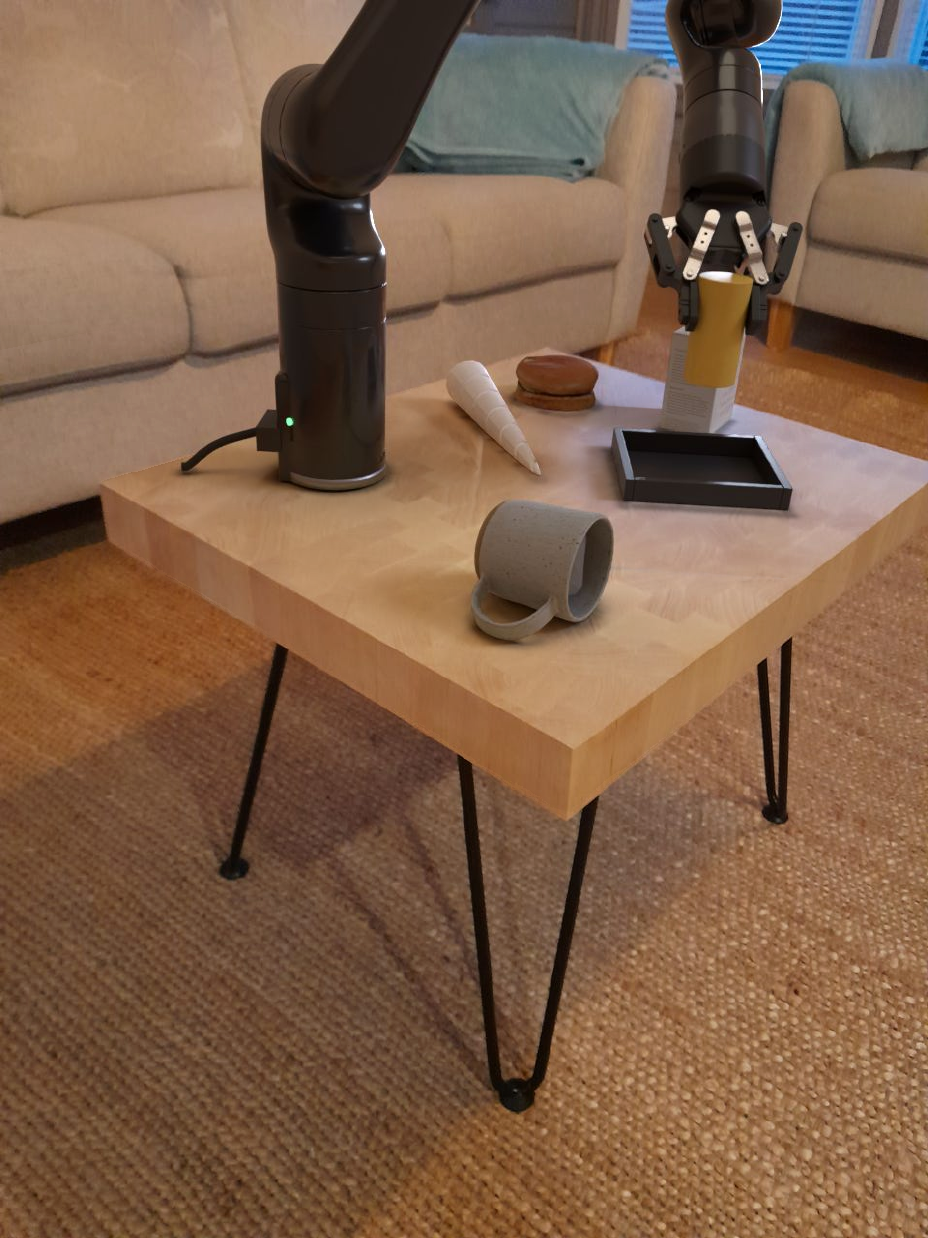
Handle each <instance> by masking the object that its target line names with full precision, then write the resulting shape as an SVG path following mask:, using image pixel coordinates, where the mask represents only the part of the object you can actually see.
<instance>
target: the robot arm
mask: <svg viewBox="0 0 928 1238" xmlns="http://www.w3.org/2000/svg"><path fill="white" fill-rule="evenodd" d="M481 1H482V0H365V1H364V2H363V5H362V6H361V8H360V9H359V11H358V13H357V14H356V16H355V18H354V19H353V21H352V22H351V24H350V25H349V27H348V29H347V30H346V32H345V34H343V37H342V38H341V40H340V41H339V42H338V43H337V46H336V47H335V48H334V50H333V51H332V53H331V54H330V56H329V57H328V58H327V59H326V60H325V62H324V63H303V64H300V65H297V66H295V67H292V68H290V69H288V70H286V71H285V72H284V73H282V74H281V75H280V76H279V77H278V78H277V79H276V80H275V81H274V83H273V84H272V85H271V87H270V88H269V90H268V92H267V95H266V97H265V99H264V102H263V107H262V111H261V117H260V134H259V135H260V158H261V173H262V174H261V175H262V187H263V188H262V189H263V199H264V212H265V214H264V215H265V224H266V231H267V236H268V241H269V245H270V247H271V250H272V254H273V260H274V268H275V269H274V270H275V271H274V272H275V281H276V282H275V283H276V302H277V303H276V305H277V322H278V323H277V326H278V327H277V328H278V329H277V330H278V331H277V332H278V351H279V352H278V353H279V354H278V355H279V356H278V357H279V370H278V371H277V373H276V374H275V376H274V396H275V409H271V408H269V409H266V411H265V412H264V413H263V415H262V417H261V418H260V420H259V421H258V423H257V424H256V426H255V427H252V428H248V429H243V430H240V431H237V432H233V433H229V434H227V435H224V436H222V437H219V438H216V439H214V440H212V441H210V442H209V443H207V444H206V445H204V446H203V447H202V448H201V449H200V450H198V451H197V452H195V454H194V455H192V457H190V458H189V459H187V460H186V461H181V462H180V470H181V472H188V471H190V470H192V469H194V468H195V467H196V466H197V465H198V464H199V463H200V462H202V461H203V460H204V459H205V458H206V457H207V456H209V455H210V454H212V453H213V452H215V451H216V450H219V449H220V448H223V447H226V446H227V445H230V444H234V443H237V442H242V441H244V440H248V439H252V438H255V441H256V451H257V452H264V453H265V452H267V453H277V461H278V463H277V464H278V480H279V481H280V482H281V481H282V482H290V483H294V484H296V485H298V486H301V487H305V488H309V489H316V490H323V491H324V490H325V491H346V490H354V489H360V488H364V487H365V488H366V487H368V486H371V485H374V484H376V483H378V482H379V481H381V480H382V479H384V477H385V475H386V473H387V459H386V455H387V454H386V451H387V450H386V393H387V391H386V388H387V387H386V386H387V385H386V382H387V379H386V378H387V371H386V370H387V253H386V249H385V246H384V244H383V243H382V240H381V239H380V237H379V236H380V235H379V234H378V232H377V229H376V226H375V221H374V217H373V212H372V200H371V199H372V198H371V197H372V196H371V192H373V191H374V190H375V189H377V188H379V186H381V185H382V184H383V182H385V180H386V179H387V178H388V177H389V175H390V174H391V172H393V169H394V168H395V167H396V164H398V161H399V160H400V157H401V155H402V153H403V151H404V149H405V147H406V145H407V143H408V141H409V138H410V136H411V135H412V131H413V130H414V128H415V125H416V123H417V120H418V118H419V116H420V114H421V112H422V110H423V108H424V105H425V103H426V100H427V99H428V96H429V94H430V92H431V91H432V88H433V86H434V84H435V81H436V79H437V77H438V76H439V73H440V71H441V70H442V67H443V65H444V64H445V61H446V59H447V57H448V55H450V54H449V53H450V51H451V50H452V48H453V46H454V44H455V43H456V41H457V40H458V38H459V37H460V35H461V34H462V31H463V30H464V29H465V27H466V25H467V24H468V22H469V21H470V20H471V17H472V16H473V14H474V13H475V11H476V9H477V8H478V6H479V4H480V3H481ZM782 13H783V0H667V3H666V6H665V10H664V25H665V30H666V34H667V37H668V39H669V40H668V41H669V42H670V45H671V48H672V51H673V54H674V55H675V58H676V60H677V64H678V67H679V71H680V76H681V81H682V92H683V93H682V95H683V98H682V99H683V100H682V107H683V108H682V129H681V134H680V140H679V153H678V165H679V196H678V197H679V199H678V200H679V201H678V205H679V206H678V209H677V211H676V213H675V215H673V216H668V217H664V218H663V216H662V215H661V214H660V213H656V212H654V213H651V214H649V215H648V218H647V222H646V226H645V229H644V233H643V238H644V242H645V245H646V250H647V252H648V256H649V260H650V263H651V267H652V271H653V274H654V277H655V280H656V281H655V282H656V284H657V286H658V287H660V288H661V289H666V288H671V289H674V290H675V291H676V292H677V320H678V323H679V325H681V326H685V331H687V332H694V330H695V327H696V325H697V322H698V303H699V285H698V281H696V279H697V278H698V275H699V272H700V269H701V266H702V265H716V264H722V265H725V266H728V267H730V266H731V267H733V268H734V271H735V273H736V274H741V275H745V276H748V277H750V278H752V279H753V285H752V291H751V296H750V302H749V307H748V313H747V318H746V324H745V335H746V336H748V337H749V336H752V337H754V336H755V335H756V333H757V331H760V330H761V328H762V327H763V325H764V323H765V321H766V319H767V316H768V307H767V306H768V298H767V297H768V296H767V295H772V296H778V295H779V294H781V292H782V290H783V288H784V285H785V283H786V281H788V278H789V276H790V275H791V270H792V267H793V264H794V260H795V258H796V254H797V250H798V247H799V244H800V240H801V237H802V234H803V230H804V227H803V225H802V224H801V223H800V222H798V221H792V222H791V223H790V224H789V226H788V225H787V226H786V225H784V224H781V223H780V224H779V223H777V222H773V218H772V216H771V214H770V213H769V211H768V208H767V158H766V157H767V154H766V153H767V152H766V151H767V150H766V145H767V144H766V127H765V123H764V118H763V89H762V88H763V80H762V79H763V78H762V77H763V76H762V69H761V64H760V61H759V59H758V57H757V56H756V55H755V54H754V53H753V51H751V50H749V49H751V48H755V47H758V46H760V45H762V44H765V43H767V42H768V41H769V40H770V39H771V38H772V37H773V36H774V35H775V33H776V31H777V30H778V27H779V25H780V23H781V18H782ZM673 233H675V235H676V236H678V238H679V239H680V240H681V242H682V243H683V244H684V246H685V247H686V248H687V250H688V251H689V252H690V253H689V256H688V259H687V261H686V264H685V266H684V268H683V267H681V266H678V265H677V264H676V260H675V256H674V253H673V250H672V247H671V243H670V242H671V239H672V237H673ZM766 238H768V239H769V240H770V241H771V248H772V249H773V253H774V254H777V255H776V258H775V261H774V265H773V268H772V271H770V272H767V270H766V269H767V268H766V267H765V264H764V261H763V251H762V249H761V246H760V245H761V244H762V243H763V242H764V241H765V239H766Z"/></svg>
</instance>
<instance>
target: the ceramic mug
mask: <svg viewBox="0 0 928 1238" xmlns="http://www.w3.org/2000/svg"><path fill="white" fill-rule="evenodd" d="M614 546H615V538H614V528H613V525H612V523H611V521H610V519H609V518H608V516H606V515H605V514H603V513H600V512H595V511H588V510H582V509H577V508H570V507H566V506H559V505H554V504H548V503H544V502H539V501H534V500H528V499H527V500H526V499H509V500H503V501H502V502H500V503H498V504H497V505H495V506H494V507H493V508H492V509H491V510H490V511H489V513H488V514H487V515H486V517H485V518H484V520H483V521H482V524H481V526H480V528H479V531H478V533H477V537H476V541H475V545H474V552H473V553H474V555H473V565H474V571H475V574H476V577H477V579H478V581H477V582H476V583H475V585H474V587H473V589H472V591H471V595H470V610H471V613H472V616H473V619H474V621H475V623H476V625H477V626H478V627H479V628H480V630H481V631H482V632H484V634H487V635H489V636H490V637H493V638H496V639H499V640H505V641H506V640H507V641H513V640H520V639H524V638H528V637H530V636H532V635H535V634H536V633H538V632H539V631H540V630H542V629H543V628H544V627H545V626H546V625H547V624H548V623H549V622H550V621H551V620H553V618H554V617H556V618H560V619H562V620H565V621H568V622H572V623H578V622H582V621H584V620H585V619H587V618H588V617H589V616H590V615H591V614H592V613H593V612H594V610H595V609H596V607H597V605H598V604H599V602H600V600H601V598H602V597H603V594H604V593H605V590H606V587H607V584H608V582H609V578H610V573H611V571H612V563H613V558H614V557H613V556H614ZM488 593H491V594H493V595H495V596H497V597H498V598H501V599H504V600H506V601H507V600H508V601H510V602H514V603H517V604H520V605H523V606H526V607H529V608H531V609H533V610H536V611H535V612H533V613H532V614H530V615H529V616H527V617H525V618H523V619H520V620H517V621H513V622H507V623H498V622H494V621H492V620H491V618H490V617H489V616H487V615H485V614H484V613H483V611H482V610H481V606H482V603H483V601H484V598H485V597H486V595H487V594H488Z"/></svg>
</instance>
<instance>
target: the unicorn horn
mask: <svg viewBox="0 0 928 1238" xmlns="http://www.w3.org/2000/svg"><path fill="white" fill-rule="evenodd" d="M445 384H446V385H445V387H446V390H447V394H448V395H449V397H450V398H451V399H452V400H453V401H454V402H455V403H456V404H457V405H458V406H459V407H460V408H461V409H462V410H463V411H464V412H465V413H466V414H467V415H468V416H469V417H470V418H471V419H472V420H473V421H474V422H475V423H476V424H477V425H478V426H479V427H480V428H481V429H482V430H483V431H484V432H485V433H486V434H488V435H489V436H490V437H491V438H492V439H493V440H494V441H495V442H496V443H497V444H498V445H500V447H501V448H503V449H504V450H505V451H506V452H507V453H508V454H509V455H510V456H511V457H513V458H514V459H515V460H516V461H518V463H520V464H521V465H522V466H523V467H525V468H526V469H527V470H529V471H530V472H532V473H533V474H535V475H536V476H541V475H542V472H541V468H540V466H539V464H538V463H539V462H537V461H536V457H535V455H534V453H533V451H532V448H531V447H530V445H529V443H528V441H527V439H526V438H525V436H524V433H523V432H522V430H521V429H520V427H519V426H518V423H517V421H516V419H515V417H514V416H513V414H512V412H511V410H510V409H509V407H508V405H507V403H506V402H505V400H504V398H503V397H502V395H501V393H500V391H499V389H498V388H497V386H496V384H495V382H494V381H493V379H492V377H491V375H490V374H489V371H488V370H487V369H486V368H485V366H484V365H483V364H482V363H481V362H479V361H477V360H473V359H471V360H463V361H460V362H458V363H456V364H454V366H452V367H451V368H450V369H449V371H448V373H447V376H446V381H445Z"/></svg>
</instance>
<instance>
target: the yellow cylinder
mask: <svg viewBox="0 0 928 1238" xmlns="http://www.w3.org/2000/svg"><path fill="white" fill-rule="evenodd" d="M697 282H698V285H699V303H698V322H697V325H696V327H695V330H694V332H690V334H689V340H688V347H687V353H686V359H685V366H684V372H683V379H684V380H685V381H687V382H689V383H691V384H694V385H697V386H702V387H709V388H725V387H730V386H732V385H734V383H735V378H736V373H737V367H738V362H739V356H740V351H741V346H742V340H743V335H744V329H745V324H746V318H747V313H748V307H749V302H750V296H751V291H752V285H753V279H752V278H750V277H748V276H745V275H741V274H737V273H736V272H728V271H705V272H704V271H703V272H700V273H698V276H697Z"/></svg>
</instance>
